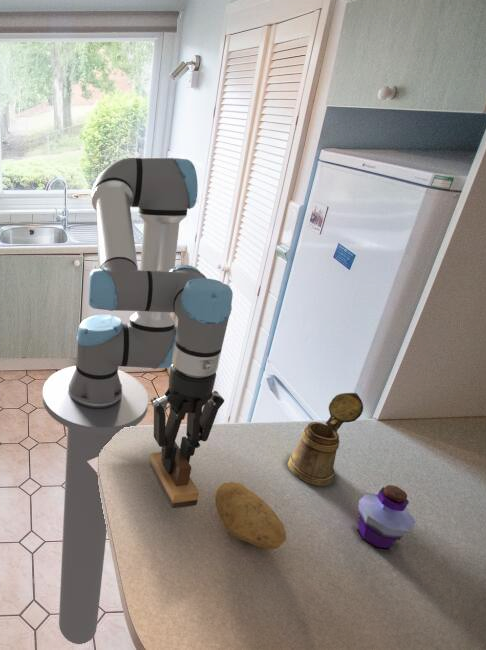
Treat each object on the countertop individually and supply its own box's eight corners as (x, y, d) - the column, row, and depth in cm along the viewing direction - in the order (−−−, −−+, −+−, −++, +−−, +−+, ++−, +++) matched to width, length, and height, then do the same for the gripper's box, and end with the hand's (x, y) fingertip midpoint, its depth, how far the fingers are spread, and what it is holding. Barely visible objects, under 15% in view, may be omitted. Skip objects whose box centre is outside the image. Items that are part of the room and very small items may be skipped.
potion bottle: (400, 530, 88) (423, 485, 82) (404, 566, 81) (430, 519, 76) (348, 510, 92) (366, 466, 87) (348, 543, 85) (368, 496, 80)
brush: (149, 465, 95) (153, 436, 91) (171, 462, 96) (176, 433, 92) (171, 509, 85) (177, 478, 82) (196, 505, 86) (203, 474, 82)
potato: (256, 573, 80) (266, 542, 76) (198, 513, 91) (205, 484, 88) (294, 552, 83) (305, 522, 80) (234, 496, 95) (241, 468, 91)
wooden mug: (353, 468, 102) (379, 404, 94) (316, 491, 96) (342, 424, 88) (314, 444, 109) (336, 382, 101) (278, 464, 103) (299, 399, 96)
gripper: (160, 384, 74) (144, 488, 84) (247, 375, 76) (221, 477, 86) (143, 359, 80) (130, 458, 91) (223, 352, 83) (201, 449, 93)
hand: (174, 467), depth 88 cm, fingers closed on brush, 2 cm apart
